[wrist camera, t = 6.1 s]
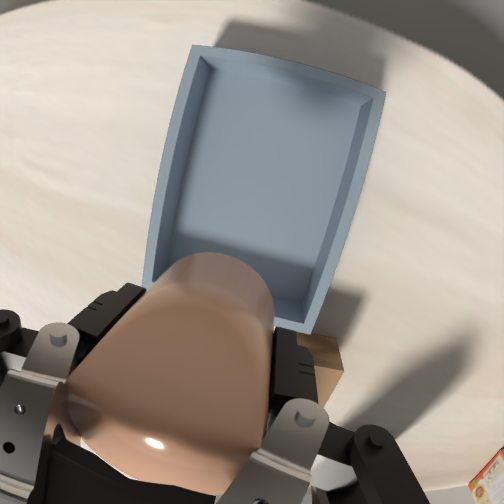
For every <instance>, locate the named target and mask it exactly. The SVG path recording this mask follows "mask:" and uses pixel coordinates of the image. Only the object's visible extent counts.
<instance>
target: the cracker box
mask: <svg viewBox="0 0 504 504" xmlns="http://www.w3.org/2000/svg"><path fill="white" fill-rule="evenodd" d="M468 486H469V488H470V491H471V493H472V496H473V499H474V501H475V504H504V448H503V449H501V450H500V451H499V452H498V453H497V454H496V455H495V457H494V458H493V459H492V460H491V461H490V462H489V463H488V464H487V466H486V467H485V468H484V469H483V470H482V471H481V472H480V473H479V474H478V475H477V476H476V477H475V478H474V479H473V480H472V481H471V482H470V483H469V485H468Z"/></svg>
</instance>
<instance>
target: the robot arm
mask: <svg viewBox="0 0 504 504" xmlns="http://www.w3.org/2000/svg"><path fill="white" fill-rule="evenodd" d="M146 291H147V290H146V288H143V287H140V286H137V285H134V284H131V283H126V284H125V285H124V286H123V287H122V288H120V289H119V290H118V291H117V292H116V291H113V290H112V291H109V292H106V293H104V294H101V295H100V296H99V297H98V298H96V299H95V300H94V302H92V303H90V304H89V305H88V307H86V308H85V309H83V310H82V311H81V312H80V313H79V314H78V315H77V316H75V317H74V318H73V319H72V320H71V321H70V322H69V323H67V324H66V323H51V324H48V325H46V326H44V327H43V328H41V329H40V331H35V330H31V329H27V328H22V327H21V321H20V317H19V316H18V314H16V313H15V312H13V311H11V310H0V504H214V502H215V498H216V496H213V495H209V494H205V493H201V492H197V491H193V490H189V489H186V488H182V487H179V486H175V485H167V484H159V483H151V482H144V481H138V480H133V479H129V478H127V477H126V476H124V475H123V474H121V473H120V472H118V471H117V470H116V469H114V468H113V467H111V466H110V465H109V464H107V463H106V462H105V461H103V460H102V459H101V458H99V457H98V456H97V455H95V454H94V453H92V452H90V451H88V450H86V449H84V448H82V447H81V446H80V438H81V437H80V434H79V431H78V428H76V427H74V426H73V423H72V419H71V416H70V412H69V407H68V397H69V391H68V387H67V382H66V380H67V378H68V377H69V376H70V375H71V374H72V372H73V371H74V370H75V369H76V368H77V367H78V366H79V364H80V363H81V362H82V361H83V360H84V359H85V358H86V356H87V355H88V354H89V353H90V352H91V351H92V350H93V348H94V347H95V346H96V345H97V344H98V343H99V342H100V341H101V340H102V338H103V337H104V336H105V335H106V334H107V333H108V332H109V331H110V330H111V329H112V327H113V326H114V325H115V324H116V323H117V322H118V321H119V320H120V319H121V318H122V317H123V315H124V314H125V313H126V312H127V311H128V310H129V309H130V308H131V307H132V306H133V305H134V304H135V303H136V302H137V301H138V299H139V298H140V297H141V296H142V295H143V294H144V293H145V292H146ZM309 485H312V486H314V487H316V491H317V494H318V497H319V500H320V503H321V504H430V503H429V501H428V499H427V497H426V495H425V493H424V492H423V490H422V488H421V486H420V484H419V482H418V481H417V479H416V477H415V475H414V473H413V472H412V470H411V468H410V466H409V464H408V463H407V461H406V459H405V457H404V455H403V454H402V452H401V450H400V448H399V447H398V445H397V443H396V441H395V440H394V438H393V436H392V435H391V434H390V433H389V432H388V431H387V430H385V429H384V428H382V427H379V426H376V425H364V426H361V427H360V428H358V429H357V430H356V432H352V431H349V430H347V429H344V428H341V427H339V426H336V425H334V424H333V423H331V422H330V421H329V416H328V414H327V412H326V411H325V409H324V408H323V407H322V406H320V405H319V402H318V393H317V385H316V376H315V368H314V360H313V356H312V354H311V353H310V351H309V350H308V348H307V347H305V346H300V345H297V333H296V331H294V330H290V329H286V328H282V327H278V326H277V327H276V328H275V331H274V333H273V348H272V364H271V379H270V394H269V407H268V420H267V433H266V436H265V437H264V439H263V440H262V442H261V448H257V449H256V451H254V452H253V453H252V454H251V456H250V457H249V459H248V460H247V462H246V463H245V465H244V466H243V467H242V469H241V470H240V472H239V473H238V475H237V476H236V477H235V479H234V480H233V482H232V483H231V484H230V486H229V487H228V488H227V490H226V491H225V492H224V494H223V495H222V497H221V498H220V499H219V500H218V502H217V503H216V504H301V502H302V500H303V498H304V496H305V494H306V491H307V489H308V487H309Z"/></svg>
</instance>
